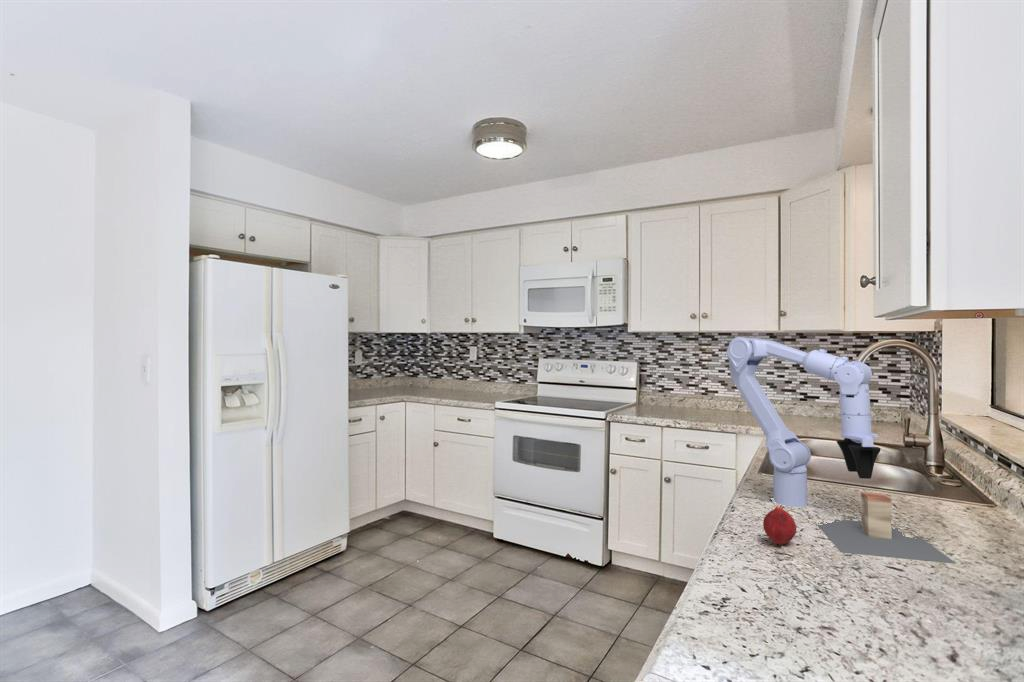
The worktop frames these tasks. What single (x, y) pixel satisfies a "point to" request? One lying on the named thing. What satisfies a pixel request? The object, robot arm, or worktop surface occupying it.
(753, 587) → the worktop surface
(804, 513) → the worktop surface
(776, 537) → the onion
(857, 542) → the mat
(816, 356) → the robot arm
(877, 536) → the block
